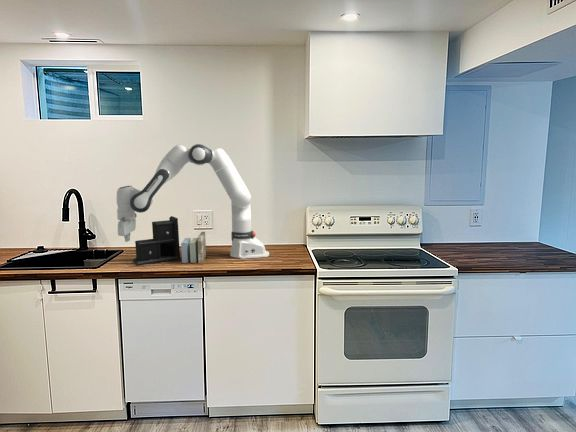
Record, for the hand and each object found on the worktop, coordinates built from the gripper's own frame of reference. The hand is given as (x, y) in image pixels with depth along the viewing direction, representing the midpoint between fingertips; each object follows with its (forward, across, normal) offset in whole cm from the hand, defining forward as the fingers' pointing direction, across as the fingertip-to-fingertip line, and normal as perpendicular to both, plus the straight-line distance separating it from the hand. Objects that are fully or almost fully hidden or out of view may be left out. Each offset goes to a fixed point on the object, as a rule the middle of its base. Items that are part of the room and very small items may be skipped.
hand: (127, 241), depth 222 cm
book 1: (+11, 0, -31) cm, 33 cm away
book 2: (+11, 0, -36) cm, 38 cm away
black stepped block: (+11, 0, -15) cm, 19 cm away
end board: (+11, 0, -40) cm, 41 cm away
